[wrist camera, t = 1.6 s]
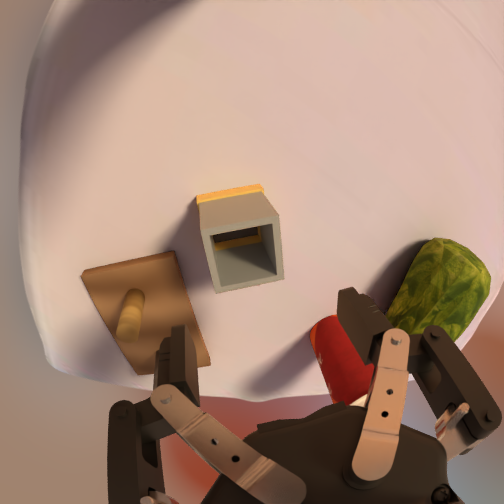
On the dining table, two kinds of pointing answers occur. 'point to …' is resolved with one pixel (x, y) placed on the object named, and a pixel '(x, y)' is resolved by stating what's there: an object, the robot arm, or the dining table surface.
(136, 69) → the dining table surface
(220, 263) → the sleeve
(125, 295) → the pin board
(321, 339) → the paper cup
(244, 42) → the dining table surface
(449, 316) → the lettuce
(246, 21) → the dining table surface
